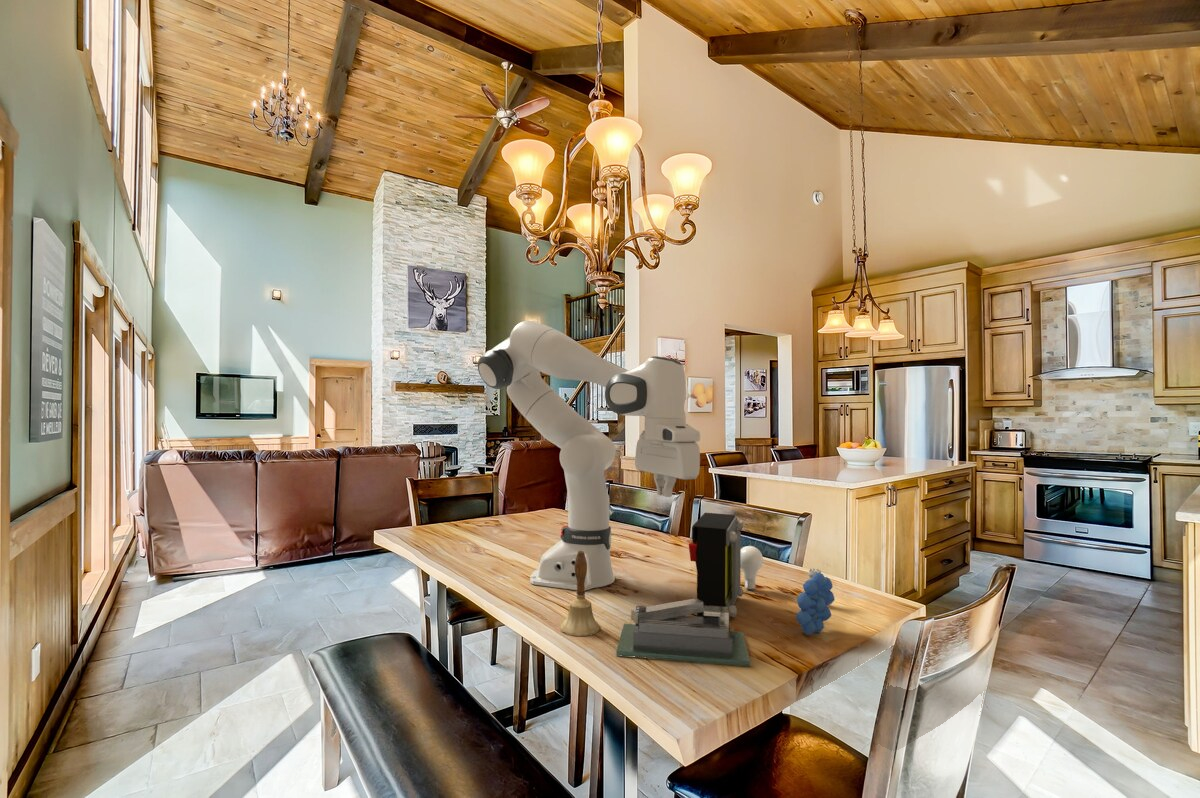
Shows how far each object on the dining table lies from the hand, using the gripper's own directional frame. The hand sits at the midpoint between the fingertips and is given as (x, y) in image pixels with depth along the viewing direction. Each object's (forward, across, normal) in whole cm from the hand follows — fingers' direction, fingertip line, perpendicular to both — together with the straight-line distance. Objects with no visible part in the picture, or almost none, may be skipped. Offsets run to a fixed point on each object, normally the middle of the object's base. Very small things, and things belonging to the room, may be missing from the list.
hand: (664, 495), depth 117 cm
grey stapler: (+27, +11, -3) cm, 30 cm away
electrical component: (+27, -3, +17) cm, 32 cm away
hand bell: (+27, -5, -17) cm, 33 cm away
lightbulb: (+27, -9, +32) cm, 43 cm away
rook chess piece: (+27, +5, +39) cm, 48 cm away
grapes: (+27, +17, +26) cm, 41 cm away
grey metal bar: (+23, +7, -3) cm, 24 cm away
